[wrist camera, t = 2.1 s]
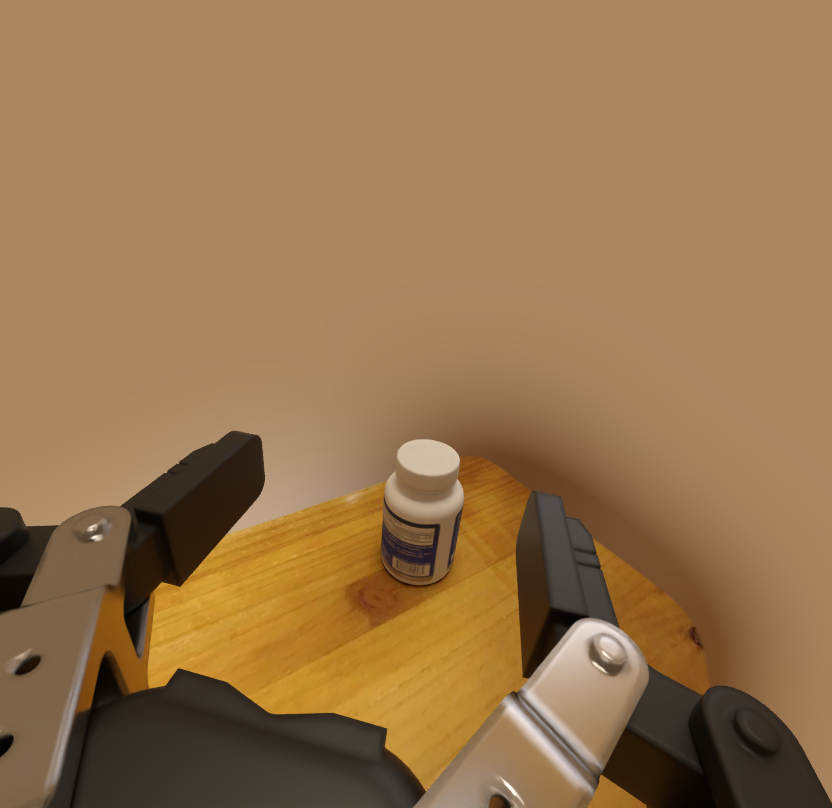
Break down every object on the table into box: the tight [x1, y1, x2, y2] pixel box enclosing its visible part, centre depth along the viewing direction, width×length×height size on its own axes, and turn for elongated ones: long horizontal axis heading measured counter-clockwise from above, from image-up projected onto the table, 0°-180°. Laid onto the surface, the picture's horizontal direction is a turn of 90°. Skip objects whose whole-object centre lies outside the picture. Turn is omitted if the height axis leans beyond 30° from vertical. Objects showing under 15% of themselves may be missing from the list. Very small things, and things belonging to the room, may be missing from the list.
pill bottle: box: [381, 439, 464, 585], centre depth 26 cm, size 5×5×9 cm
